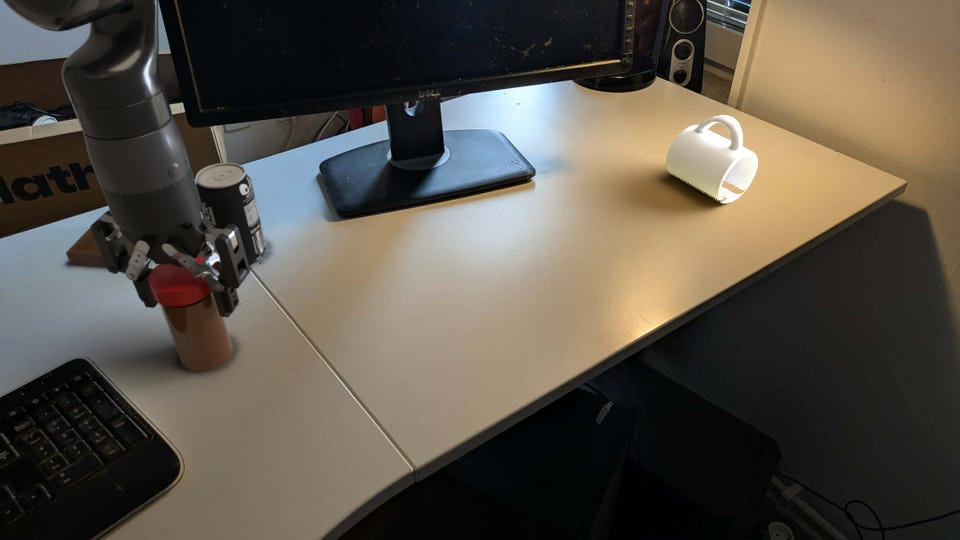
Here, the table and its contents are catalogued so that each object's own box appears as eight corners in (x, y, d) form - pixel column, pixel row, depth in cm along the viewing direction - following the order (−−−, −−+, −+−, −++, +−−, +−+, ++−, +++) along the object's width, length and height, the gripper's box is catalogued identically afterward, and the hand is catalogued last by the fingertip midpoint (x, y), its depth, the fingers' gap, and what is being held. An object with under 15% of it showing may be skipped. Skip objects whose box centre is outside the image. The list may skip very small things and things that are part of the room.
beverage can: (205, 254, 87) (181, 174, 79) (249, 233, 91) (230, 155, 83) (232, 276, 83) (209, 194, 76) (277, 253, 87) (259, 173, 80)
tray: (71, 265, 85) (65, 252, 83) (109, 224, 92) (104, 212, 91) (140, 269, 84) (135, 257, 83) (173, 228, 91) (169, 216, 90)
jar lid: (226, 275, 68) (222, 260, 67) (193, 311, 64) (187, 296, 63) (177, 265, 70) (172, 250, 68) (140, 300, 65) (134, 285, 64)
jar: (172, 369, 71) (142, 294, 64) (193, 334, 75) (167, 260, 68) (221, 373, 70) (196, 297, 64) (240, 338, 75) (218, 263, 68)
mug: (696, 166, 107) (714, 96, 100) (749, 194, 100) (772, 121, 93) (660, 180, 103) (675, 108, 96) (712, 210, 97) (733, 136, 89)
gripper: (239, 155, 60) (271, 292, 70) (96, 141, 62) (148, 277, 72) (198, 198, 55) (240, 341, 65) (41, 181, 56) (106, 323, 66)
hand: (191, 307), depth 68 cm, fingers open, 7 cm apart
